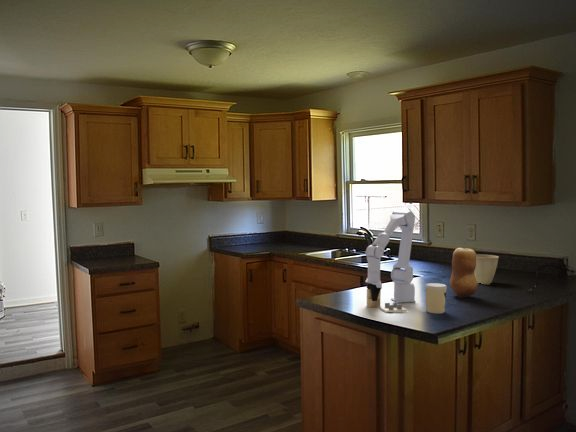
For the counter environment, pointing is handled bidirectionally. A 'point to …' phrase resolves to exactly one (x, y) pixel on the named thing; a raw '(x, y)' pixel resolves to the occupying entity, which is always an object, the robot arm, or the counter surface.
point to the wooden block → (369, 299)
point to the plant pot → (485, 268)
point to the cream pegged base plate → (393, 308)
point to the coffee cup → (435, 297)
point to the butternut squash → (463, 272)
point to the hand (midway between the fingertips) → (373, 300)
